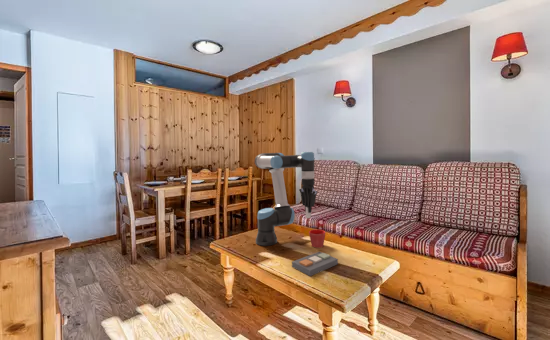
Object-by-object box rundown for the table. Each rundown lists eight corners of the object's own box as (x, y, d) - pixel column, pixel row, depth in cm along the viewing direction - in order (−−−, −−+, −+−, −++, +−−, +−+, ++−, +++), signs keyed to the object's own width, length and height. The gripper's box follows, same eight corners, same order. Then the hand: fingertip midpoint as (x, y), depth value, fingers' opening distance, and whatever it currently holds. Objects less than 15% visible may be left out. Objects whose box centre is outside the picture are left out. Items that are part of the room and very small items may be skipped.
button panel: (292, 266, 146) (292, 261, 146) (319, 256, 159) (319, 251, 159) (310, 276, 135) (310, 270, 134) (337, 264, 148) (337, 258, 148)
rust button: (299, 266, 143) (299, 261, 143) (306, 264, 146) (306, 259, 146) (306, 270, 139) (305, 264, 139) (312, 267, 142) (312, 262, 142)
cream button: (308, 263, 147) (308, 258, 147) (314, 260, 150) (314, 255, 150) (315, 266, 143) (315, 261, 143) (321, 263, 146) (321, 258, 146)
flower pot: (307, 243, 181) (307, 229, 181) (323, 242, 182) (323, 228, 182) (311, 249, 171) (310, 234, 170) (327, 248, 172) (327, 233, 171)
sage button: (317, 259, 152) (317, 254, 151) (323, 257, 155) (323, 252, 154) (323, 262, 147) (323, 257, 147) (330, 260, 151) (330, 255, 150)
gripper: (295, 177, 157) (296, 216, 159) (311, 179, 147) (311, 221, 148) (304, 176, 161) (305, 214, 163) (320, 178, 151) (320, 218, 153)
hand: (308, 217), depth 156 cm, fingers closed
